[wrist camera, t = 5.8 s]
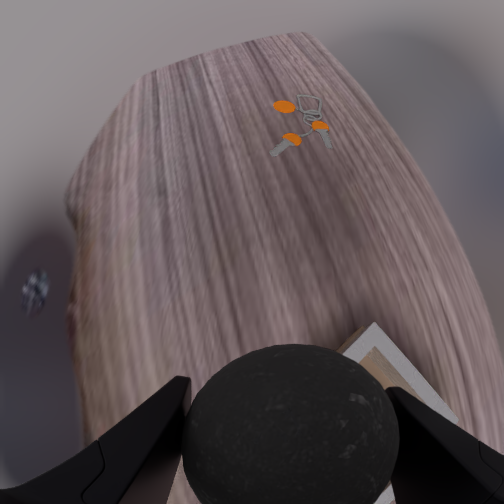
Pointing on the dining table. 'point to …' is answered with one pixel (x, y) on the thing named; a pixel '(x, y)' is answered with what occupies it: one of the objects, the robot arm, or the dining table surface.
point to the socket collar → (394, 376)
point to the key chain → (317, 125)
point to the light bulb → (290, 431)
